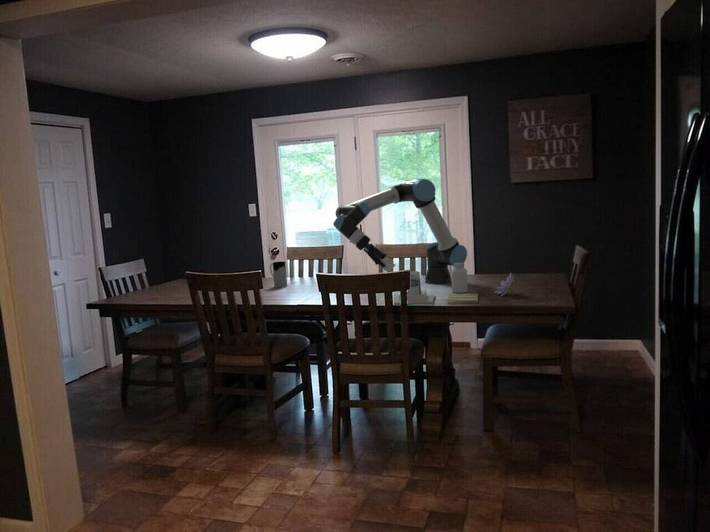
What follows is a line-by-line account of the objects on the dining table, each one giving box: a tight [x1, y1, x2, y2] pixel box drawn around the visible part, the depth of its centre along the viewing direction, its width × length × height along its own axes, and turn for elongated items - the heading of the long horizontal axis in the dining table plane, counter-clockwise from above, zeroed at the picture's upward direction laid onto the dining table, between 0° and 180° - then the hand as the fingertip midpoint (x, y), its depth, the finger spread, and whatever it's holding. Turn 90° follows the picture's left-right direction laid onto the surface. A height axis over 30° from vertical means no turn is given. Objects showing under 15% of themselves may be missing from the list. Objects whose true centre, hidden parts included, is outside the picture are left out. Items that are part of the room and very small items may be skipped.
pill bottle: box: [450, 262, 468, 294], centre depth 305 cm, size 8×8×15 cm
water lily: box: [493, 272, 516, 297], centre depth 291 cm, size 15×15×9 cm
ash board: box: [447, 293, 479, 305], centre depth 285 cm, size 18×14×1 cm
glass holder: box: [269, 261, 289, 288], centre depth 360 cm, size 9×14×15 cm, turn 41°
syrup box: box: [407, 270, 422, 295], centre depth 289 cm, size 6×6×14 cm
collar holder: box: [392, 290, 436, 306], centre depth 290 cm, size 20×20×4 cm
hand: (391, 269), depth 290 cm, fingers open, 13 cm apart
